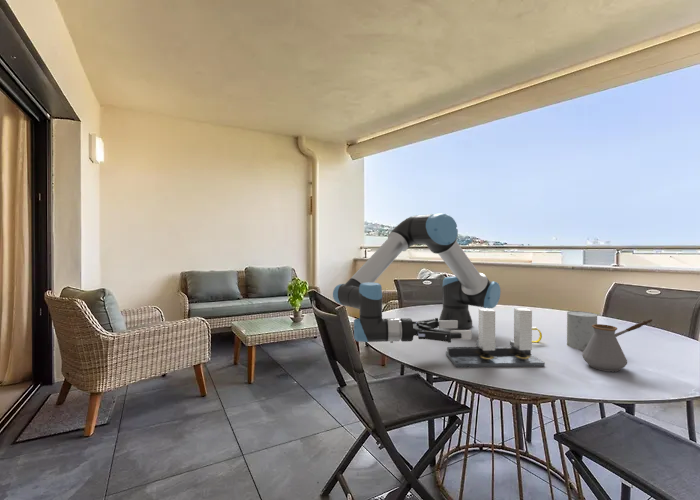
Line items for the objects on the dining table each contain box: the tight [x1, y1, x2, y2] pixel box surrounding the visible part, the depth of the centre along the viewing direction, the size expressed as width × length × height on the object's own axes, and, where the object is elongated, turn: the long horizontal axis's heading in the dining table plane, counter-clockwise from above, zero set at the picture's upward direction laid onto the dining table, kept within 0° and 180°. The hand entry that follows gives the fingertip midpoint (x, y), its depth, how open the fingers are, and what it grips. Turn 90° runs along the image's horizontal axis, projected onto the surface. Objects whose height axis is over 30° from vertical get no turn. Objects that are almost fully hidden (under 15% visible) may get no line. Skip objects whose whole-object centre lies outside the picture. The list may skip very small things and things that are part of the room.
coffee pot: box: [582, 318, 657, 373], centre depth 109 cm, size 21×12×15 cm, turn 90°
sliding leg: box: [475, 308, 496, 356], centre depth 118 cm, size 8×4×15 cm, turn 0°
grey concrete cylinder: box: [566, 310, 598, 351], centre depth 130 cm, size 10×10×12 cm
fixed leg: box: [509, 307, 533, 355], centre depth 118 cm, size 8×4×15 cm, turn 0°
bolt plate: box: [445, 345, 546, 368], centre depth 117 cm, size 12×28×3 cm, turn 90°
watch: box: [532, 326, 543, 344], centre depth 136 cm, size 6×3×6 cm, turn 83°
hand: (463, 329), depth 116 cm, fingers open, 13 cm apart
